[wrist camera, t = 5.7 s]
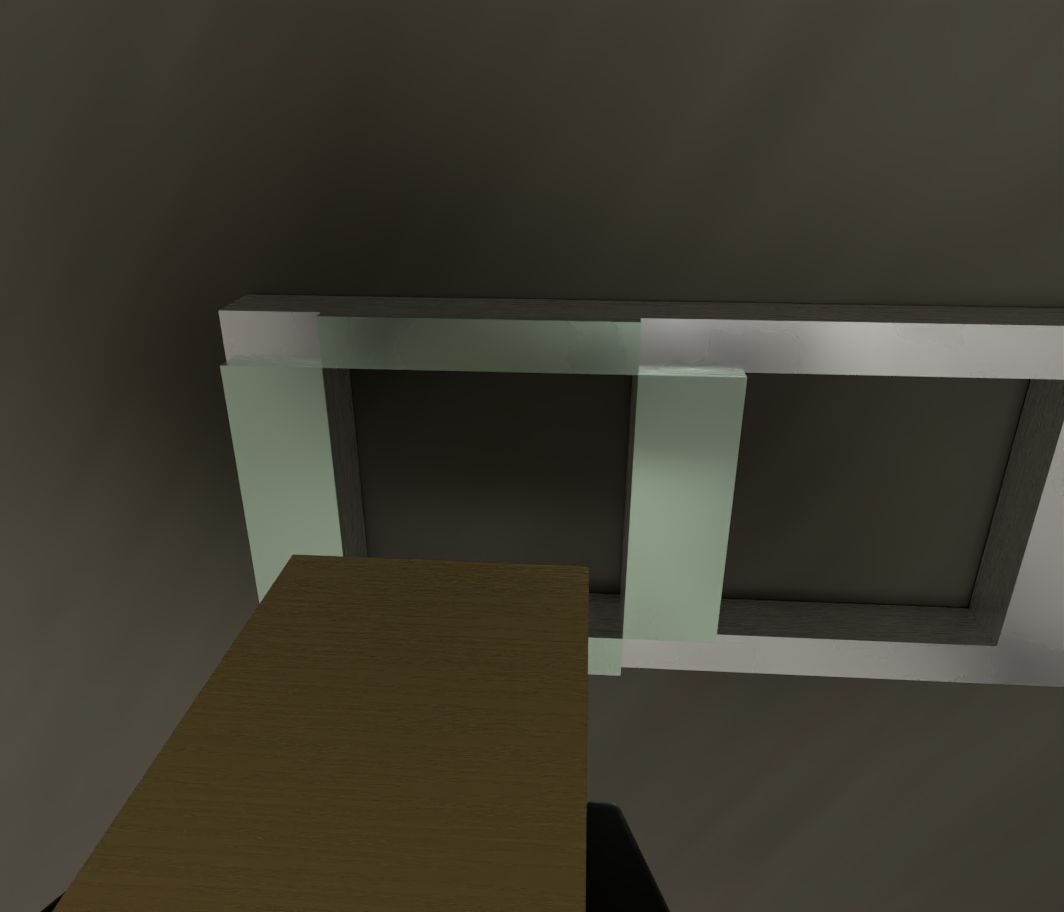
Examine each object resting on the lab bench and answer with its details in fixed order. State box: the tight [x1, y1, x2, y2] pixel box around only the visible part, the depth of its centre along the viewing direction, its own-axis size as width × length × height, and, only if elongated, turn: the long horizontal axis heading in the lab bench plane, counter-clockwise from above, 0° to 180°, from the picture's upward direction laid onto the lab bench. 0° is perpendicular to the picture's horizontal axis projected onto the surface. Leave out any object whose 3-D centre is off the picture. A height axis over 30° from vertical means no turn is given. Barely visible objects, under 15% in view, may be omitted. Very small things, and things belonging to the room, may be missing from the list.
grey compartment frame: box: [218, 294, 1064, 687], centre depth 16 cm, size 26×8×2 cm, turn 90°
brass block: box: [52, 554, 589, 912], centre depth 9 cm, size 4×4×6 cm
